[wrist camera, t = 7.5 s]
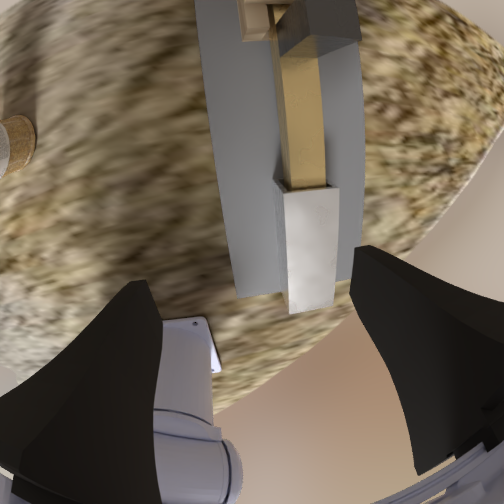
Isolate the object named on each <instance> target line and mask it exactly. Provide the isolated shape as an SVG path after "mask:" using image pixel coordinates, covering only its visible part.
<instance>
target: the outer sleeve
mask: <svg viewBox="0 0 504 504" xmlns="http://www.w3.org/2000/svg"><path fill="white" fill-rule="evenodd" d="M272 182H273V194H274V206H275V219H276V232H277V246H278V261H279V277H280V288H281V291H282V294H283V297H284V300H285V303H286V306H287V309H288V312H289V314H293V313H299V312H304V311H309V310H314V309H319V308H324V307H329V306H333V300H334V290H335V278H336V265H337V250H338V230H339V187H338V186H336V185H335V184H333V183H332V182H331V181H329V180H328V179H326V187H325V188H315V189H306V190H296V191H287V190H286V189H285V188H284V179H283V178H274V179H272Z"/></svg>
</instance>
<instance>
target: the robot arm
mask: <svg viewBox="0 0 504 504" xmlns="http://www.w3.org/2000/svg"><path fill="white" fill-rule="evenodd" d="M349 294H350V297H351V299H352V302H353V304H354V307H355V309H356V311H357V313H358V316H359V318H360V319H361V321H362V323H363V325H364V326H365V328H366V330H367V332H368V333H369V335H370V337H371V338H372V340H373V342H374V344H375V346H376V347H377V349H378V351H379V353H380V355H381V356H382V358H383V360H384V362H385V364H386V366H387V368H388V370H389V372H390V374H391V377H392V380H393V382H394V385H395V387H396V390H397V393H398V396H399V399H400V402H401V405H402V408H403V412H404V415H405V419H406V423H407V427H408V431H409V435H410V440H411V446H412V452H413V458H414V467H415V469H416V472H417V475H418V476H420V475H421V474H423V473H425V472H427V471H429V470H431V469H432V468H434V467H436V466H438V465H439V464H441V463H443V462H444V461H446V460H447V459H449V458H450V457H452V456H455V458H456V460H455V461H454V462H452V463H451V464H450V465H448V466H446V467H445V468H443V469H441V470H440V471H438V472H436V473H434V474H433V475H431V476H429V477H427V478H426V479H424V480H422V481H420V482H418V483H416V484H414V485H412V486H411V487H408V488H406V489H405V490H402V491H400V492H398V493H396V494H393V495H391V496H389V497H387V498H384V499H382V500H379V501H377V502H374V503H372V504H420V503H422V502H423V501H425V500H427V499H429V498H431V497H432V496H434V495H436V494H437V493H439V492H441V491H442V490H444V489H446V488H447V489H446V492H445V494H444V495H441V496H439V497H437V498H435V499H433V500H430V501H428V502H426V503H424V504H504V302H499V301H496V300H493V299H490V298H487V297H483V296H480V295H477V294H475V293H472V292H469V291H467V290H464V289H462V288H459V287H457V286H454V285H452V284H449V283H447V282H445V281H443V280H441V279H439V278H436V277H435V276H432V275H430V274H428V273H426V272H424V271H422V270H420V269H418V268H416V267H414V266H412V265H411V264H408V263H407V262H405V261H403V260H401V259H399V258H397V257H395V256H393V255H391V254H389V253H387V252H385V251H383V250H381V249H378V248H376V247H374V246H371V245H367V246H361V247H355V248H354V258H353V268H352V276H351V285H350V292H349ZM194 322H197V323H194ZM220 371H221V364H220V361H219V358H218V355H217V352H216V349H215V346H214V343H213V340H212V336H211V333H210V330H209V326H208V323H207V320H206V318H204V317H200V316H199V317H191V318H183V319H174V320H165V321H162V319H161V317H160V314H159V312H158V310H157V307H156V305H155V302H154V300H153V297H152V295H151V292H150V289H149V287H148V284H147V282H146V279H145V280H138V281H131V282H129V283H128V284H127V285H126V286H124V287H123V288H122V289H121V290H120V291H119V292H118V294H117V295H116V296H115V297H114V298H113V299H112V300H111V301H110V302H109V303H108V304H107V305H106V306H105V307H104V308H103V310H102V311H101V312H100V313H99V314H98V315H97V316H96V317H95V318H94V319H93V320H92V321H91V322H90V324H89V325H88V326H87V327H86V328H85V329H84V330H83V331H82V332H81V333H80V334H79V335H78V336H77V337H76V338H75V339H74V340H73V341H72V342H71V343H70V344H69V345H68V346H67V347H66V348H65V349H64V350H63V351H61V352H60V353H59V354H58V355H57V356H56V357H55V358H54V359H53V360H51V361H50V362H49V363H48V364H47V365H45V366H44V367H43V368H41V369H40V370H39V371H38V372H36V373H35V374H34V375H32V376H31V377H30V378H29V379H27V380H26V381H24V382H23V383H22V384H20V385H19V386H17V387H16V388H14V389H12V390H11V391H9V392H8V393H6V394H4V395H3V396H1V397H0V466H1V467H2V468H4V469H5V470H7V471H9V472H10V473H12V474H14V476H13V480H11V479H9V478H8V477H6V476H4V475H2V474H1V473H0V504H235V503H236V500H237V499H238V497H239V495H240V492H241V489H242V483H243V469H242V462H241V458H240V455H239V453H238V451H237V450H236V448H235V447H234V446H233V444H232V443H231V442H230V441H229V440H227V439H222V435H221V428H220V427H214V424H213V401H212V373H216V372H220Z"/></svg>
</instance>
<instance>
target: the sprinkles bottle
mask: <svg viewBox="0 0 504 504" xmlns="http://www.w3.org/2000/svg"><path fill="white" fill-rule="evenodd" d="M34 149H35V133H34V128H33V126H32V123H31V122H30V120H29V119H28V118H27V117H25V116H22V115H15V116H12V117H11V118H8V119H4V120H0V178H2V177H4V176H6V175H8V174H10V173H12V172H17V171H19V170H22V169H23V168H24V167H25V166H26V165H27V164H28V163H29V162H30V160H31V158H32V155H33V153H34Z"/></svg>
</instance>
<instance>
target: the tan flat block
mask: <svg viewBox="0 0 504 504" xmlns="http://www.w3.org/2000/svg"><path fill="white" fill-rule="evenodd" d="M267 11H268V18H269V25H270V28H269V29H268V32H269V40H270V47H271V55H272V63H273V72H274V81H275V90H276V99H277V109H278V119H279V130H280V141H281V153H282V165H283V179H284V188H285V189H286V190H287V191H296V190H306V189H315V188H325V187H326V175H325V145H324V126H323V111H322V98H321V87H320V76H319V67H318V58H319V57H321V56H323V55H325V54H328V53H330V52H333V51H335V50H337V49H340V48H342V47H345V46H348V45H350V44H353V43H356V42H358V41H361V40H362V37H361V31H360V25H359V19H358V13H357V8H356V3H355V0H294V1H293V3H292V4H268V6H267Z"/></svg>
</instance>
